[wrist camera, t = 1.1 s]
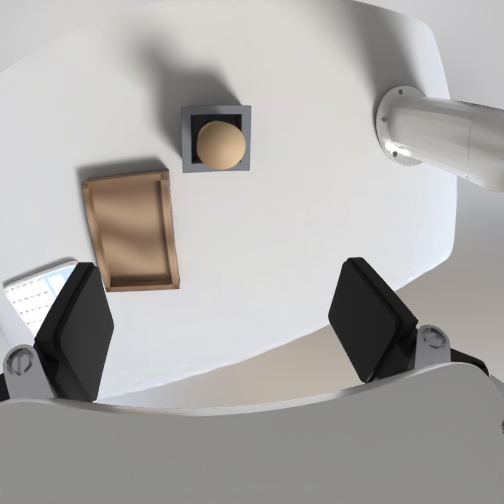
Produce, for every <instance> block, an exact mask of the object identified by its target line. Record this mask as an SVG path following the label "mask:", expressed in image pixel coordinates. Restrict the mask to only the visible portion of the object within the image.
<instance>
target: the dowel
mask: <svg viewBox="0 0 504 504" xmlns="http://www.w3.org/2000/svg"><path fill="white" fill-rule="evenodd" d="M245 147H246V144H245V139H244V136H243V134H242V133H241V131H240V130H239V129H238V128H237V127H235V126H233V125H231V124H228V123H225V122H221V121H217V120H212V121H208V122H206V123H205V124H204V125H203V126H202V127H201V128H200V130H199V134H198V140H197V153H198V156H199V158H200V159H201V161H202V162H203V163H204V164H205V165H207V166H208V167H210V168H213V169H217V170H224V169H228V168H231V167H233V166H234V165H236V164H237V163H238V162H239V161H240V160H241V159H242V157H243V155H244V152H245Z"/></svg>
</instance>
